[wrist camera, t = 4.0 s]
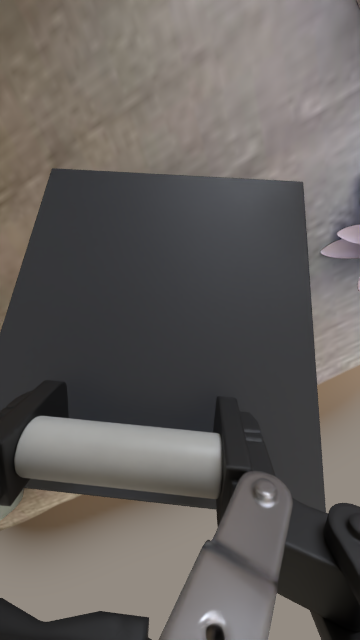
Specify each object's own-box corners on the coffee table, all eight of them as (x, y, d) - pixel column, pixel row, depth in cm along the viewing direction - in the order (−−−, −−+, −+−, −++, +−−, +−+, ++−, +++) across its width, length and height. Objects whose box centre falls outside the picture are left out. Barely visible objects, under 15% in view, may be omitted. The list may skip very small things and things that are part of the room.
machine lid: (318, 515, 12) (417, 592, 7) (-33, 476, 12) (-180, 519, 7) (298, 191, 17) (344, 102, 12) (57, 178, 18) (8, 88, 13)
